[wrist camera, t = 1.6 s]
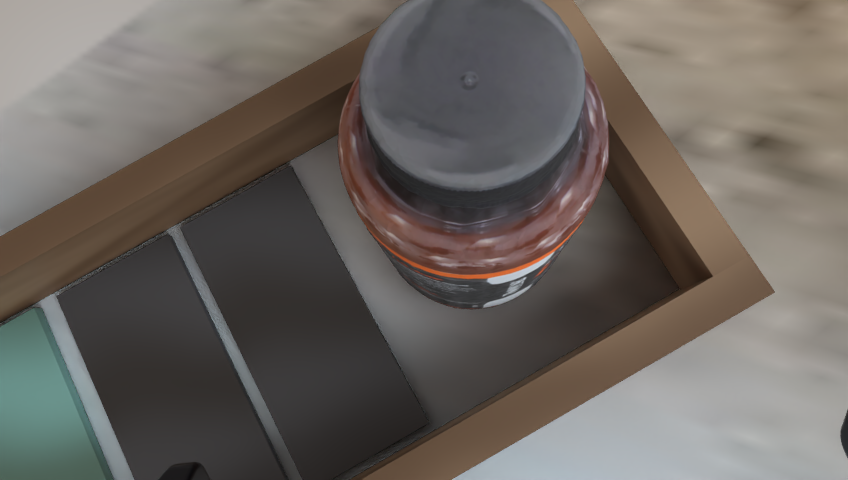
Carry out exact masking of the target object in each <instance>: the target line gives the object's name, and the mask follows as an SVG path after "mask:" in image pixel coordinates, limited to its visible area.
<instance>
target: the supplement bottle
mask: <svg viewBox="0 0 848 480" xmlns="http://www.w3.org/2000/svg"><path fill="white" fill-rule="evenodd" d="M338 155H339V164H340V169H341V174H342V177H343V180H344V184H345V187H346V189H347V192H348V194H349V196H350V199H351V201H352V203H353V205H354V207H355V208H356V210H357V213H358V215H359V216H360V218H361V219H362V221H363V222H364V224H365V225H366V227H367V229H368V230H369V232H370V234H371V235H372V236H373V237H374V239H375V240H376V241H377V242H378V244H379V245H380V247H381V248H382V249H383V251H384V252H385V253H386V255H387V256H388V258H389V259H390V260H391V262H392V263H393V265H394V266H395V267H396V269H397V270H398V272H399V273H400V275H401V276H402V277H403V278H404V279H405V280H406V281H407V282H408V283H409V284H410V285H411V286H413V287H414V288H415V289H416V290H418V291H419V292H420V293H422V294H423V295H425V296H426V297H428V298H430V299H432V300H434V301H436V302H439V303H441V304H444V305H447V306H450V307H453V308H460V309H481V308H488V307H494V306H497V305H500V304H504V303H506V302H508V301H510V300H513V299H515V298H516V297H518V296H519V295H521V294H523V293H524V292H526V291H527V290H528V289H529V288H531V287H532V286H534V285H535V284H536V283H537V282H538V281H539V280H540V279H541V277H542V276H543V275H544V274H545V273H546V271H547V270H548V269H549V268H550V266H551V265H552V264H553V262H554V261H555V260H556V258H557V256H558V254H559V253H560V252H561V250H562V249H563V247H564V246H565V245H566V244H567V243H568V241H569V239H570V238H571V237H572V236H573V234H574V233H575V231H576V230H577V229H578V228H579V226H580V225H581V223H582V221H583V219H584V218H585V216H586V215H587V213H588V212H589V210H590V209H591V207H592V205H593V203H594V201H595V199H596V197H597V194H598V192H599V189H600V187H601V184H602V181H603V179H604V175H605V172H606V168H607V165H608V161H609V130H608V121H607V116H606V112H605V107H604V103H603V100H602V98H601V95H600V92H599V90H598V88H597V85H596V83H595V82H594V80H593V78H592V77H591V75H590V74H589V72H588V71H587V70H586V69H585V67H584V63H583V57H582V54H581V52H580V49H579V47H578V44H577V41H576V40H575V38H574V37H573V35H572V34H571V32H570V30H569V28H568V27H567V26H566V24H565V23H564V22H563V21H562V19H561V18H560V16H559V15H558V14H557V13H556V12H555V11H554V10H553V9H552V8H550V7H549V6H548V5H547V4H545V3H544V2H543V1H541V0H408V1H407V2H405V3H403V4H402V5H400V6H399V7H398V8H396V9H395V11H394V12H393V13H392V14H391V15H390V16H389V17H388V18H387V19H386V20H385V21H384V22H383V23H382V24H381V26H380V27H379V28H378V30H377V32H376V33H375V34H374V36H373V37H372V39H371V41H370V42H369V45H368V48H367V50H366V52H365V54H364V59H363V63H362V67H361V69H360V73H359V75H358V76H357V78H356V79H355V81H354V83H353V85H352V87H351V89H350V91H349V93H348V95H347V98H346V101H345V103H344V106H343V110H342V114H341V119H340V125H339V133H338Z"/></svg>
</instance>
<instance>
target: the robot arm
mask: <svg viewBox="0 0 848 480" xmlns="http://www.w3.org/2000/svg"><path fill="white" fill-rule="evenodd" d="M841 442H842V446H843V449H844V451H845V453H846V456H847V458H848V410H847V413H846V416H845V419H844V422H843V425H842V427H841ZM158 480H211V479H210V477H209V475H208V473H207V471H206V469H205V468H204V466H203V465H202V464H201V463H199V462H189V463H179V464H174V465H172V466H170V467H169V468H167V469H166V470H165V472H164V473H163V474H162V475H161V476H160V477H159V479H158Z"/></svg>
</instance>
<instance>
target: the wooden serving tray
mask: <svg viewBox="0 0 848 480" xmlns="http://www.w3.org/2000/svg"><path fill="white" fill-rule="evenodd" d="M541 1H543V2H544V3H545V4H547V5H548V6H549V7H550V8H552V9H553V10H554V11H555V12H556V13H557V14H558V15H559V16H560V18H561V19H562V21H563V22H564V23H565V24H566V26H567V27H568V28H569V30H570V32H571V34H572V35H573V37H574V38H575V40H576V41H577V44H578V47H579V49H580V52H581V54H582V57H583V63H584V67H585V69H586V70H587V71H588V72H589V74H590V75H591V77H592V78H593V80H594V82H595V83H596V85H597V88H598V90H599V92H600V95H601V98H602V100H603V103H604V107H605V112H606V116H607V121H608V130H609V161H608V165H607V168H606V172H605V175H606V177H607V178H608V180H609V181H610V183H611V184H612V186H613V188H614V189H615V191H616V192H617V194H618V195H619V197H620V198H621V200H622V201H623V203H624V204H625V206H626V207H627V209H628V210H629V212H630V213H631V215H632V216H633V218H634V219H635V221H636V222H637V224H638V225H639V227H640V229H641V230H642V232H643V233H644V235H645V236H646V238H647V239H648V241H649V242H650V244H651V245H652V247H653V248H654V250H655V251H656V253H657V254H658V256H659V257H660V259H661V260H662V262H663V263H664V265H665V267H666V268H667V270H668V271H669V273H670V274H671V276H672V277H673V279H674V280H675V282H676V283H677V285H678V286H679V288H680V289H679V290H677V291H676V292H674V293H672V294H670V295H669V296H667V297H665V298H664V299H662V300H660V301H658V302H657V303H655V304H653V305H651V306H650V307H648V308H646V309H644V310H643V311H641V312H639V313H637V314H636V315H634V316H632V317H631V318H629V319H627V320H625V321H624V322H622V323H620V324H618V325H617V326H615V327H613V328H611V329H610V330H608V331H606V332H604V333H603V334H601V335H599V336H598V337H596V338H594V339H592V340H591V341H589V342H587V343H585V344H584V345H582V346H580V347H578V348H577V349H575V350H573V351H572V352H570V353H568V354H566V355H565V356H563V357H561V358H559V359H558V360H556V361H554V362H552V363H551V364H549V365H547V366H545V367H544V368H542V369H540V370H539V371H537V372H535V373H533V374H532V375H530V376H528V377H526V378H525V379H523V380H521V381H519V382H518V383H516V384H514V385H513V386H511V387H509V388H507V389H506V390H504V391H502V392H500V393H499V394H497V395H495V396H493V397H492V398H490V399H488V400H486V401H485V402H483V403H481V404H480V405H478V406H476V407H474V408H473V409H471V410H469V411H467V412H466V413H464V414H462V415H460V416H459V417H457V418H455V419H453V420H452V421H450V422H448V423H447V424H445V425H443V426H441V427H440V428H438V429H436V430H434V431H433V432H431V433H429V434H427V435H426V436H424V437H422V438H421V439H419V440H417V441H415V442H414V443H412V444H410V445H408V446H407V447H405V448H403V449H401V450H400V451H398V452H396V453H394V454H393V455H391V456H389V457H388V458H386V459H384V460H382V461H381V462H379V463H377V464H375V465H374V466H372V467H370V468H368V469H367V470H365V471H363V472H362V473H360V474H358V475H356V476H355V477H353V478H351V479H349V480H452V479H453V478H455V477H457V476H458V475H460V474H462V473H464V472H465V471H467V470H469V469H471V468H472V467H474V466H476V465H477V464H479V463H481V462H483V461H484V460H486V459H488V458H490V457H491V456H493V455H495V454H496V453H498V452H500V451H502V450H503V449H505V448H507V447H509V446H510V445H512V444H514V443H515V442H517V441H519V440H521V439H522V438H524V437H526V436H528V435H529V434H531V433H533V432H534V431H536V430H538V429H540V428H541V427H543V426H545V425H547V424H548V423H550V422H552V421H553V420H555V419H557V418H559V417H560V416H562V415H564V414H566V413H567V412H569V411H571V410H572V409H574V408H576V407H578V406H579V405H581V404H583V403H585V402H586V401H588V400H590V399H591V398H593V397H595V396H597V395H598V394H600V393H602V392H604V391H605V390H607V389H609V388H610V387H612V386H614V385H616V384H617V383H619V382H621V381H623V380H624V379H626V378H628V377H629V376H631V375H633V374H635V373H636V372H638V371H640V370H642V369H643V368H645V367H647V366H648V365H650V364H652V363H654V362H655V361H657V360H659V359H660V358H662V357H664V356H666V355H667V354H669V353H671V352H673V351H674V350H676V349H678V348H679V347H681V346H683V345H685V344H686V343H688V342H690V341H692V340H693V339H695V338H697V337H698V336H700V335H702V334H704V333H705V332H707V331H709V330H711V329H712V328H714V327H716V326H717V325H719V324H721V323H723V322H724V321H726V320H728V319H730V318H731V317H733V316H735V315H736V314H738V313H740V312H742V311H743V310H745V309H747V308H749V307H750V306H752V305H754V304H755V303H757V302H759V301H761V300H762V299H764V298H766V297H768V296H769V295H771V294H773V293H774V292H775V291H774V290H773V289H772V287H771V286H770V284H769V283H768V281H767V280H766V278H765V277H764V276H763V274H762V273H761V271H760V270H759V268H758V267H757V265H756V264H755V263H754V261H753V260H752V258H751V257H750V255H749V254H748V252H747V251H746V250H745V248H744V247H743V245H742V244H741V242H740V241H739V239H738V238H737V237H736V235H735V234H734V232H733V231H732V229H731V228H730V226H729V225H728V224H727V222H726V221H725V219H724V218H723V216H722V215H721V213H720V212H719V211H718V209H717V208H716V206H715V205H714V203H713V202H712V200H711V199H710V198H709V196H708V195H707V193H706V192H705V190H704V189H703V187H702V186H701V185H700V183H699V182H698V180H697V179H696V177H695V176H694V174H693V173H692V172H691V170H690V169H689V167H688V166H687V164H686V163H685V161H684V160H683V159H682V157H681V156H680V154H679V153H678V151H677V150H676V148H675V147H674V146H673V144H672V143H671V141H670V140H669V138H668V137H667V135H666V134H665V133H664V131H663V130H662V128H661V127H660V125H659V124H658V122H657V121H656V119H655V118H654V117H653V115H652V114H651V112H650V111H649V109H648V108H647V106H646V105H645V104H644V102H643V101H642V99H641V98H640V96H639V95H638V93H637V92H636V91H635V89H634V88H633V86H632V85H631V83H630V82H629V80H628V79H627V78H626V76H625V75H624V73H623V72H622V70H621V69H620V67H619V66H618V65H617V63H616V62H615V60H614V59H613V57H612V56H611V54H610V53H609V52H608V50H607V49H606V47H605V46H604V44H603V43H602V41H601V40H600V39H599V37H598V36H597V34H596V33H595V31H594V30H593V28H592V27H591V26H590V24H589V23H588V21H587V20H586V18H585V17H584V15H583V14H582V13H581V11H580V10H579V8H578V7H577V5H576V4H575V2H574V1H573V0H541ZM379 27H380V26H379ZM379 27H377V28H375V29H373V30H372V31H370V32H368V33H366V34H364V35H363V36H361V37H359V38H357V39H355V40H354V41H352V42H350V43H348V44H346V45H345V46H343V47H341V48H339V49H337V50H336V51H334V52H332V53H330V54H328V55H327V56H325V57H323V58H321V59H319V60H318V61H316V62H314V63H312V64H310V65H308V66H307V67H305V68H303V69H301V70H299V71H298V72H296V73H294V74H292V75H290V76H289V77H287V78H285V79H283V80H281V81H280V82H278V83H276V84H274V85H272V86H271V87H269V88H267V89H265V90H263V91H262V92H260V93H258V94H256V95H254V96H253V97H251V98H249V99H247V100H245V101H244V102H242V103H240V104H238V105H236V106H235V107H233V108H231V109H229V110H227V111H226V112H224V113H222V114H220V115H218V116H217V117H215V118H213V119H211V120H209V121H208V122H206V123H204V124H202V125H200V126H199V127H197V128H195V129H193V130H191V131H190V132H188V133H186V134H184V135H182V136H181V137H179V138H177V139H175V140H173V141H172V142H170V143H168V144H166V145H164V146H163V147H161V148H159V149H157V150H155V151H154V152H152V153H150V154H148V155H146V156H145V157H143V158H141V159H139V160H137V161H135V162H134V163H132V164H130V165H128V166H126V167H125V168H123V169H121V170H119V171H117V172H116V173H114V174H112V175H110V176H108V177H107V178H105V179H103V180H101V181H99V182H98V183H96V184H94V185H92V186H90V187H89V188H87V189H85V190H83V191H81V192H80V193H78V194H76V195H74V196H72V197H71V198H69V199H67V200H65V201H63V202H62V203H60V204H58V205H56V206H54V207H53V208H51V209H49V210H47V211H45V212H44V213H42V214H40V215H38V216H36V217H35V218H33V219H31V220H29V221H27V222H26V223H24V224H22V225H20V226H18V227H17V228H15V229H13V230H11V231H9V232H8V233H6V234H4V235H2V236H0V323H1V322H2V321H4V320H6V319H8V318H10V317H11V316H13V315H15V314H17V313H19V312H20V311H22V310H24V309H26V308H28V307H29V306H31V305H33V304H35V303H36V302H38V301H40V300H42V299H44V298H45V297H47V296H49V295H51V294H53V293H54V292H56V291H58V290H60V289H61V288H63V287H65V286H67V285H69V284H70V283H72V282H74V281H76V280H78V279H79V278H81V277H83V276H85V275H87V274H88V273H90V272H92V271H94V270H95V269H97V268H99V267H101V266H103V265H104V264H106V263H108V262H110V261H112V260H113V259H115V258H117V257H119V256H121V255H122V254H124V253H126V252H128V251H129V250H131V249H133V248H135V247H137V246H138V245H140V244H142V243H144V242H146V241H147V240H149V239H151V238H153V237H155V236H156V235H158V234H160V233H162V232H163V231H165V230H167V229H169V228H171V227H172V226H174V225H176V224H178V223H180V222H181V221H183V220H185V219H187V218H188V217H190V216H192V215H194V214H196V213H197V212H199V211H201V210H203V209H205V208H206V207H208V206H210V205H212V204H214V203H215V202H217V201H219V200H221V199H222V198H224V197H226V196H228V195H230V194H231V193H233V192H235V191H237V190H239V189H240V188H242V187H244V186H246V185H248V184H249V183H251V182H253V181H255V180H256V179H258V178H260V177H262V176H264V175H265V174H267V173H269V172H271V171H273V170H274V169H276V168H278V167H280V166H282V165H283V164H285V163H287V162H289V161H290V160H292V159H294V158H296V157H298V156H299V155H301V154H303V153H305V152H307V151H308V150H310V149H312V148H314V147H315V146H317V145H319V144H321V143H323V142H324V141H326V140H328V139H330V138H332V137H333V136H335V135H337V134H338V133H339V125H340V119H341V114H342V110H343V106H344V103H345V101H346V98H347V95H348V93H349V91H350V89H351V87H352V85H353V83H354V81H355V79H356V78H357V76H358V75H359V73H360V69H361V67H362V63H363V59H364V54H365V52H366V50H367V48H368V45H369V42H370V41H371V39H372V37H373V36H374V34H375V33H376V32H377V30H378V28H379ZM180 228H181V230H182V232H183V234H184V236H185V238H186V240H187V242H188V244H189V246H190V249H191V251H192V253H193V255H194V257H195V259H196V261H197V263H198V265H199V267H200V269H201V271H202V273H203V275H204V277H205V279H206V281H207V284H208V286H209V288H210V290H211V292H212V294H213V296H214V298H215V300H216V302H217V304H218V306H219V308H220V310H221V312H222V314H223V317H224V319H225V321H226V323H227V325H228V327H229V329H230V331H231V333H232V335H233V337H234V339H235V341H236V343H237V345H238V347H239V349H240V352H241V354H242V356H243V358H244V360H245V362H246V364H247V366H248V368H249V370H250V372H251V374H252V376H253V378H254V380H255V382H256V385H257V387H258V389H259V391H260V393H261V395H262V397H263V399H264V401H265V403H266V405H267V407H268V409H269V411H270V413H271V415H272V418H273V420H274V422H275V424H276V426H277V428H278V430H279V432H280V434H281V436H282V438H283V440H284V442H285V444H286V446H287V448H288V450H289V453H290V455H291V457H292V459H293V461H294V463H295V465H296V467H297V469H298V471H299V473H300V475H301V477H302V479H303V480H331V479H333V478H334V477H336V476H338V475H340V474H341V473H343V472H345V471H347V470H348V469H350V468H352V467H354V466H355V465H357V464H359V463H360V462H362V461H364V460H366V459H367V458H369V457H371V456H373V455H374V454H376V453H378V452H380V451H381V450H383V449H385V448H387V447H388V446H390V445H392V444H393V443H395V442H397V441H399V440H400V439H402V438H404V437H406V436H407V435H409V434H411V433H413V432H414V431H416V430H418V429H420V428H421V427H423V426H425V425H426V424H428V423H429V421H428V419H427V417H426V415H425V413H424V411H423V410H422V408H421V406H420V404H419V402H418V400H417V398H416V397H415V395H414V393H413V391H412V389H411V387H410V385H409V384H408V382H407V380H406V378H405V376H404V374H403V372H402V371H401V369H400V367H399V365H398V363H397V361H396V360H395V358H394V356H393V354H392V352H391V350H390V348H389V347H388V345H387V343H386V341H385V339H384V337H383V335H382V334H381V332H380V330H379V328H378V326H377V324H376V322H375V321H374V319H373V317H372V315H371V313H370V311H369V309H368V308H367V306H366V304H365V302H364V300H363V298H362V296H361V295H360V293H359V291H358V289H357V287H356V285H355V283H354V282H353V280H352V278H351V276H350V274H349V272H348V271H347V269H346V267H345V265H344V263H343V261H342V259H341V258H340V256H339V254H338V252H337V250H336V248H335V246H334V245H333V243H332V241H331V239H330V237H329V235H328V233H327V232H326V230H325V228H324V226H323V224H322V222H321V220H320V219H319V217H318V215H317V213H316V211H315V209H314V207H313V206H312V204H311V202H310V200H309V198H308V196H307V195H306V193H305V191H304V189H303V187H302V185H301V183H300V182H299V180H298V178H297V176H296V174H295V172H294V170H293V169H292V167H291V166H289V167H287V168H285V169H284V170H282V171H280V172H278V173H276V174H275V175H273V176H271V177H269V178H267V179H266V180H264V181H262V182H260V183H259V184H257V185H255V186H253V187H251V188H250V189H248V190H246V191H244V192H242V193H241V194H239V195H237V196H235V197H233V198H232V199H230V200H228V201H226V202H225V203H223V204H221V205H219V206H217V207H216V208H214V209H212V210H210V211H208V212H207V213H205V214H203V215H201V216H200V217H198V218H196V219H194V220H192V221H191V222H189V223H187V224H185V225H183V226H182V227H180ZM56 297H57V299H58V301H59V304H60V306H61V308H62V311H63V313H64V315H65V318H66V320H67V322H68V325H69V327H70V329H71V332H72V334H73V336H74V339H75V341H76V343H77V346H78V348H79V350H80V353H81V355H82V357H83V360H84V362H85V364H86V367H87V369H88V371H89V374H90V376H91V378H92V381H93V383H94V385H95V388H96V390H97V392H98V395H99V397H100V399H101V402H102V404H103V406H104V409H105V411H106V413H107V416H108V418H109V420H110V423H111V425H112V428H113V430H114V432H115V435H116V437H117V439H118V442H119V444H120V446H121V449H122V451H123V453H124V456H125V458H126V460H127V463H128V465H129V467H130V470H131V472H132V474H133V477H134V479H135V480H158V479H159V477H160V476H161V475H162V474H163V473H164V472H165V470H166V469H167V468H169V467H170V466H172V465H174V464H179V463H189V462H199V463H201V464H202V465H203V466H204V468H205V469H206V471H207V473H208V475H209V477H210V479H211V480H289V479H288V477H287V475H286V473H285V471H284V469H283V467H282V465H281V463H280V461H279V459H278V456H277V454H276V452H275V450H274V448H273V446H272V444H271V442H270V440H269V438H268V436H267V434H266V431H265V429H264V427H263V425H262V423H261V421H260V419H259V417H258V415H257V413H256V411H255V409H254V406H253V404H252V402H251V400H250V398H249V396H248V394H247V392H246V390H245V388H244V386H243V384H242V382H241V379H240V377H239V375H238V373H237V371H236V369H235V367H234V365H233V363H232V361H231V359H230V357H229V354H228V352H227V350H226V348H225V346H224V344H223V342H222V340H221V338H220V336H219V334H218V332H217V329H216V327H215V325H214V323H213V321H212V319H211V317H210V315H209V313H208V311H207V309H206V307H205V304H204V302H203V300H202V298H201V296H200V294H199V292H198V290H197V288H196V286H195V284H194V282H193V280H192V277H191V275H190V273H189V271H188V269H187V267H186V265H185V263H184V261H183V259H182V257H181V255H180V252H179V250H178V248H177V246H176V244H175V242H174V240H173V238H172V236H170V235H168V234H167V235H166V236H164V237H162V238H160V239H158V240H157V241H155V242H153V243H151V244H149V245H148V246H146V247H144V248H142V249H141V250H139V251H137V252H135V253H133V254H132V255H130V256H128V257H126V258H124V259H123V260H121V261H119V262H117V263H115V264H114V265H112V266H110V267H108V268H107V269H105V270H103V271H101V272H99V273H98V274H96V275H94V276H92V277H90V278H89V279H87V280H85V281H83V282H82V283H80V284H78V285H76V286H74V287H73V288H71V289H69V290H67V291H65V292H64V293H62V294H60V295H58V296H56ZM0 480H114V479H113V477H112V474H111V472H110V470H109V467H108V465H107V463H106V460H105V458H104V455H103V453H102V451H101V448H100V446H99V443H98V441H97V439H96V436H95V434H94V432H93V429H92V427H91V424H90V422H89V420H88V417H87V415H86V413H85V410H84V408H83V405H82V403H81V401H80V398H79V396H78V394H77V391H76V389H75V386H74V384H73V382H72V379H71V377H70V374H69V372H68V370H67V367H66V365H65V363H64V360H63V358H62V355H61V353H60V351H59V348H58V346H57V344H56V341H55V339H54V336H53V334H52V332H51V329H50V327H49V325H48V322H47V320H46V317H45V315H44V313H43V310H42V309H41V308H33V309H31V310H29V311H27V312H25V313H24V314H22V315H20V316H18V317H17V318H15V319H13V320H11V321H9V322H8V323H6V324H4V325H2V326H0Z"/></svg>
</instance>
